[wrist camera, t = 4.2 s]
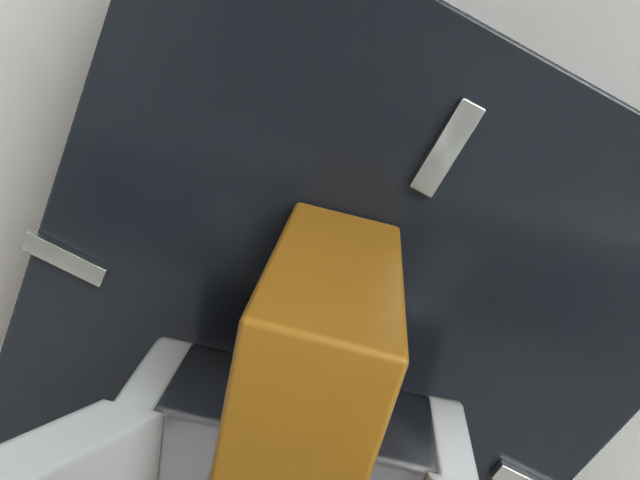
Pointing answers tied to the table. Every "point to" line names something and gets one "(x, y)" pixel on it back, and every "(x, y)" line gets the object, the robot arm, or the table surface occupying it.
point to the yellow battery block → (317, 354)
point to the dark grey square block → (344, 211)
